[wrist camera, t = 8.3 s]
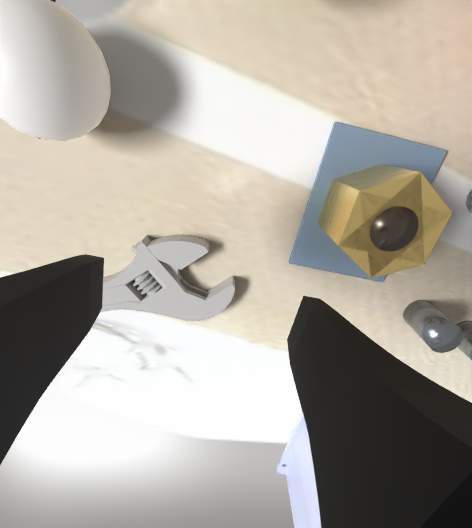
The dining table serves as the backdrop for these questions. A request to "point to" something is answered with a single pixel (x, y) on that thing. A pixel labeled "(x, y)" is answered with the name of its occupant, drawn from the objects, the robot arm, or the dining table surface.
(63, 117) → the white egg
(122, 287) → the adjustable wrench
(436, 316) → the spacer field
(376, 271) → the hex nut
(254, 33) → the dining table surface
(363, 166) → the mat
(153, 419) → the dining table surface
